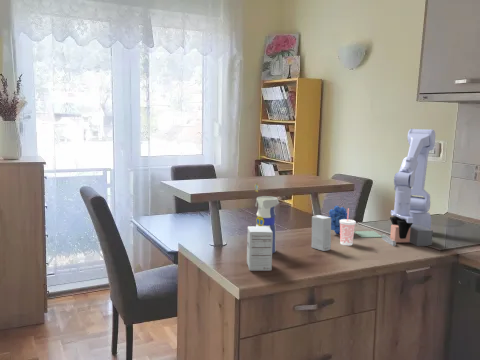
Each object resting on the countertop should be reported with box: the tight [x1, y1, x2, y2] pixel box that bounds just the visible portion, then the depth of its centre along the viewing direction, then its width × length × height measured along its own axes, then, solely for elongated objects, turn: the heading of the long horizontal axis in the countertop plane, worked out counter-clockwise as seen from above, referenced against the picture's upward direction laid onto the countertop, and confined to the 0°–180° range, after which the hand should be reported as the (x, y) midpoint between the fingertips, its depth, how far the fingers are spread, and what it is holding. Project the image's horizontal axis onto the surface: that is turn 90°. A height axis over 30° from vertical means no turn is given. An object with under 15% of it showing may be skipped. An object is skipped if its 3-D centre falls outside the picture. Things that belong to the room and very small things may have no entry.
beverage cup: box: [339, 207, 357, 246], centre depth 173 cm, size 6×6×14 cm
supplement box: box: [246, 225, 273, 272], centre depth 145 cm, size 7×7×13 cm
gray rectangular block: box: [408, 224, 434, 247], centre depth 178 cm, size 6×10×6 cm, turn 7°
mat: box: [354, 230, 382, 239], centre depth 189 cm, size 9×9×1 cm
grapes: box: [328, 205, 351, 235], centre depth 188 cm, size 12×7×12 cm, turn 117°
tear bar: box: [381, 233, 397, 247], centre depth 177 cm, size 1×10×2 cm, turn 7°
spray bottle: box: [253, 182, 280, 254], centre depth 161 cm, size 8×9×25 cm
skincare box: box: [311, 214, 332, 252], centre depth 166 cm, size 6×4×12 cm
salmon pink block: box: [389, 224, 411, 243], centre depth 177 cm, size 6×4×6 cm, turn 97°
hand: (399, 236), depth 178 cm, fingers closed on salmon pink block, 4 cm apart
